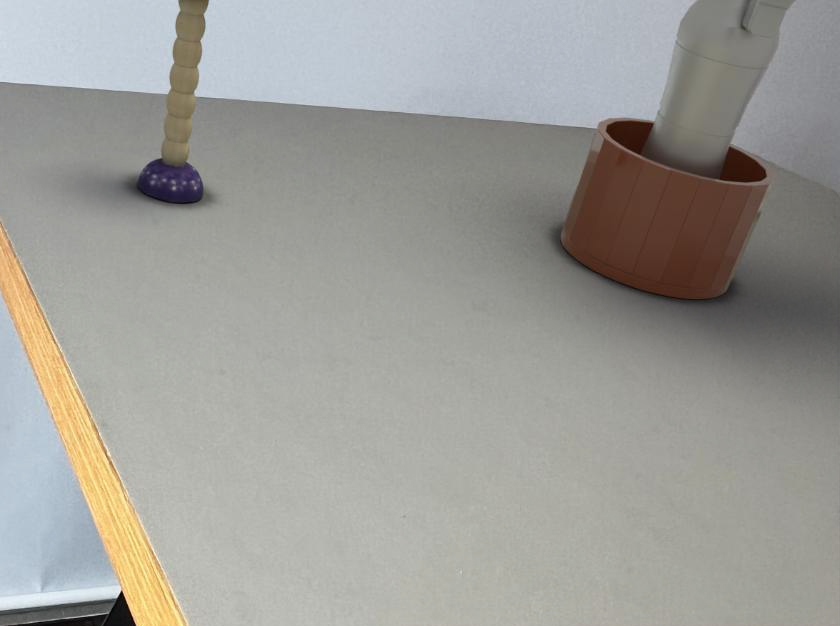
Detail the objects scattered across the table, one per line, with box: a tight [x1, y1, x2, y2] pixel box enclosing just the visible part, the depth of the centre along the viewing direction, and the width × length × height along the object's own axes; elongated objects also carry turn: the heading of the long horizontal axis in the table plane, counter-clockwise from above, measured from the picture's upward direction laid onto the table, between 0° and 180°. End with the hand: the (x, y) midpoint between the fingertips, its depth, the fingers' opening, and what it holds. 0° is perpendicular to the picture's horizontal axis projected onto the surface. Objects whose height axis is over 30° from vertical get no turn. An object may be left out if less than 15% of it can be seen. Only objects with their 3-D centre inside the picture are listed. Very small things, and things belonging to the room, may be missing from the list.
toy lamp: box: [137, 0, 210, 203], centre depth 75 cm, size 5×5×17 cm
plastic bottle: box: [640, 0, 781, 180], centre depth 82 cm, size 6×7×20 cm
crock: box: [560, 117, 776, 300], centre depth 86 cm, size 12×12×8 cm
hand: (736, 19), depth 79 cm, fingers closed on plastic bottle, 6 cm apart
